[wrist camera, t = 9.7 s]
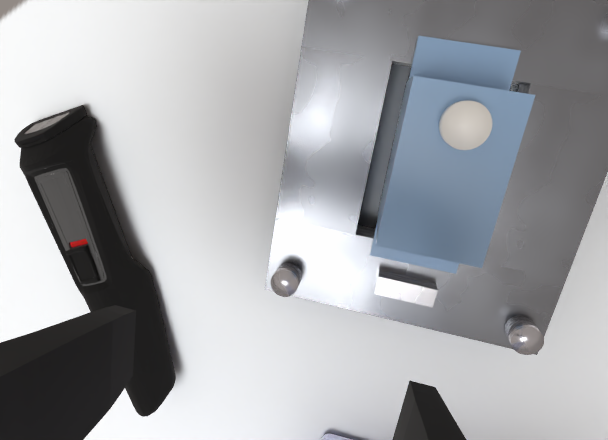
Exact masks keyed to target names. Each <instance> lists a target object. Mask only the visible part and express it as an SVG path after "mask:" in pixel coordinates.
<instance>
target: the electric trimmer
mask: <svg viewBox="0 0 608 440" xmlns="http://www.w3.org/2000/svg"><path fill="white" fill-rule="evenodd" d="M86 114H87V113H86V111H85V109H84V107H83V105H82V106H79V107H76V108H73V109H70V110H67V111H65V112H62V113H59V114H56V115H53V116H50V117H47V118H45V119H42V120H39V121H36V122H34V123H32V124H30V125H28V126H27V127H25V128H24V129H23V130H22V131H21V132H20V133H19V134H18V135H17V137H16V138H15V143H16V144H17V145H18V146H19V147H20V148H21V156H20V168H21V170H22V171H23V173H24V175H25V177H26V179H27V181H28V184H29V186H30V188H31V190H32V192H33V194H34V197H35V199H36V201H37V203H38V205H39V207H40V209H41V211H42V214H43V216H44V218H45V220H46V222H47V224H48V226H49V229H50V231H51V233H52V235H53V237H54V239H55V241H56V243H57V246H58V248H59V250H60V252H61V254H62V256H63V258H64V260H65V263H66V265H67V267H68V269H69V271H70V273H71V275H72V278H73V280H74V282H75V284H76V286H77V288H78V289H79V291H80V292H81V294H82V296H83V297H84V299H85V301H86V303H87V305H88V307H89V309H90V311H91V312H94V311H97V310H100V309H103V308H106V307H110V306H114V305H117V306H121V307H125V308H129V309H132V310H136V324H135V344H134V363H133V376H132V377H131V379H130V380H129V382H128V383H127V385H126V386H125V388H126V391H127V393H128V395H129V397H130V399H131V402H132V404H133V406H134V408H135V409H136V411H137V413H138V414H139V415H141V416H148V415H150V414H152V413H153V412H155V411H156V410H157V409H158V408H159V406H160V405H161V404H162V402H163V401H164V400H165V398H166V397H167V395H168V394H169V392H170V391H171V390H172V388H173V386H174V383H175V371H174V367H173V362H172V358H171V354H170V350H169V345H168V341H167V337H166V333H165V328H164V324H163V320H162V316H161V311H160V307H159V303H158V299H157V296H156V292H155V288H154V284H153V281H152V277H151V274H150V272H149V271H148V270H147V269H146V268H144V267H143V266H142V265H141V264H139V263H138V262H137V261H136V260H134V259H133V258H132V257H131V254H130V251H129V249H128V246H127V243H126V240H125V238H124V235H123V232H122V229H121V227H120V224H119V221H118V219H117V216H116V213H115V210H114V208H113V205H112V202H111V200H110V197H109V194H108V191H107V189H106V186H105V183H104V181H103V178H102V175H101V172H100V170H99V167H98V164H97V161H96V159H95V156H94V153H93V151H92V148H91V145H90V142H91V139H92V136H93V134H94V131H95V129H96V127H97V125H96V122H95V119H94V118H92V117H88V116H85V115H86ZM67 128H68V129H67ZM45 140H46V141H45Z"/></svg>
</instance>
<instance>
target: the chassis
mask: <svg viewBox="0 0 608 440" xmlns="http://www.w3.org/2000/svg"><path fill="white" fill-rule="evenodd" d="M418 36H425V37H432V38H438V39H445V40H452V41H459V42H466V43H472V44H479V45H486V46H493V47H500V48H507V49H513V50H520V51H521V52H520V56H519V59H518V63H517V66H516V69H515V73H514V76H513V80H512V83H513V84H519V86H518V89H517V92H520V93H526V94H532V95H535V98H534V102H533V105H532V108H531V111H530V114H529V118H528V121H527V124H526V127H525V131H524V134H523V137H522V140H521V144H520V147H519V150H518V153H517V156H516V160H515V163H514V166H513V169H512V173H511V176H510V179H509V182H508V185H507V189H506V192H505V195H504V198H503V202H502V205H501V208H500V211H499V215H498V218H497V221H496V224H495V227H494V231H493V234H492V237H491V240H490V244H489V247H488V250H487V253H486V257H485V260H484V263H483V266H482V268H479V267H474V266H470V265H465V264H460V263H459V265H458V269H457V272H456V274H454V273H450V272H445V271H440V270H436V269H431V268H426V267H422V266H417V265H413V264H408V263H403V262H399V261H394V260H389V259H385V258H380V257H376V256H371V255H370V251H371V247H372V242H373V238H374V233H375V228H370V227H366V226H361V225H358V220H359V216H360V211H361V206H362V202H363V197H364V192H365V188H366V183H367V178H368V174H369V169H370V164H371V160H372V155H373V150H374V146H375V141H376V136H377V132H378V127H379V122H380V118H381V113H382V108H383V103H384V99H385V94H386V89H387V85H388V80H389V75H390V71H391V66H392V64H396V65H402V66H409V67H411V66H412V61H413V57H414V52H415V48H416V43H417V39H418ZM607 172H608V0H309V2H308V9H307V15H306V22H305V28H304V35H303V42H302V48H301V55H300V61H299V68H298V74H297V81H296V88H295V94H294V101H293V107H292V114H291V121H290V127H289V134H288V140H287V147H286V153H285V160H284V167H283V173H282V180H281V186H280V193H279V200H278V206H277V213H276V219H275V226H274V233H273V239H272V246H271V252H270V259H269V265H268V272H267V279H266V285H265V290H269V291H274V292H275V293H276V294H278V295H280V296H283V297H288V296H294V297H299V298H303V299H307V300H311V301H315V302H319V303H324V304H328V305H332V306H336V307H340V308H344V309H349V310H353V311H357V312H361V313H365V314H369V315H374V316H378V317H382V318H386V319H390V320H394V321H399V322H403V323H407V324H411V325H415V326H419V327H424V328H428V329H432V330H436V331H440V332H444V333H449V334H453V335H457V336H461V337H465V338H469V339H474V340H478V341H482V342H486V343H490V344H494V345H499V346H503V347H507V348H511V349H514V350H515V351H517V352H518V353H520V354H524V355H530V354H536V355H537V354H538V351H539V350H540V349H541V348H542V346H543V344H544V335H545V333H546V330H547V328H548V325H549V322H550V320H551V317H552V315H553V312H554V309H555V307H556V304H557V302H558V299H559V296H560V294H561V291H562V289H563V286H564V283H565V281H566V278H567V276H568V273H569V270H570V268H571V265H572V263H573V260H574V257H575V255H576V252H577V250H578V247H579V245H580V242H581V239H582V237H583V234H584V232H585V229H586V226H587V224H588V221H589V219H590V216H591V213H592V211H593V208H594V206H595V203H596V200H597V198H598V195H599V193H600V190H601V187H602V185H603V182H604V180H605V177H606V174H607Z"/></svg>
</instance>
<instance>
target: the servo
mask: <svg viewBox="0 0 608 440" xmlns="http://www.w3.org/2000/svg"><path fill="white" fill-rule="evenodd" d="M520 52H521V51H520V50H513V49H507V48H500V47H493V46H486V45H479V44H472V43H466V42H459V41H452V40H445V39H438V38H432V37H425V36H418V39H417V43H416V48H415V52H414V57H413V61H412V66H411V70H410V75H409V79H408V81H407V82H406V87H405V91H404V96H403V100H402V105H401V109H400V114H399V119H398V123H397V128H396V132H395V137H394V141H393V146H392V150H391V155H390V159H389V164H388V168H387V173H386V177H385V182H384V187H383V191H382V196H381V200H380V205H379V210H378V219H377V224H376V228H375V233H374V238H373V242H372V247H371V251H370V255H371V256H376V257H380V258H385V259H389V260H394V261H399V262H403V263H408V264H413V265H417V266H422V267H426V268H431V269H436V270H440V271H445V272H450V273H454V274H456V272H457V269H458V265H459V263H460V264H465V265H470V266H474V267H479V268H482V266H483V263H484V260H485V257H486V253H487V250H488V247H489V244H490V240H491V237H492V234H493V231H494V227H495V224H496V221H497V218H498V215H499V211H500V208H501V205H502V202H503V198H504V195H505V192H506V189H507V185H508V182H509V179H510V176H511V173H512V169H513V166H514V163H515V160H516V156H517V153H518V150H519V147H520V144H521V140H522V137H523V134H524V131H525V127H526V124H527V121H528V118H529V114H530V111H531V108H532V105H533V102H534V98H535V95H532V94H526V93H520V92H513V91H509V90H510V87H511V83H512V80H513V76H514V73H515V69H516V66H517V63H518V59H519V56H520Z"/></svg>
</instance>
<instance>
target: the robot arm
mask: <svg viewBox="0 0 608 440" xmlns="http://www.w3.org/2000/svg"><path fill="white" fill-rule="evenodd" d="M135 324H136V310H132V309H129V308H125V307H121V306H117V305H114V306H110V307H106V308H103V309H100V310H97V311H94V312H91V313H88V314H85V315H82V316H79V317H76V318H73V319H70V320H68V321H65V322H62V323H59V324H56V325H53V326H50V327H48V328H45V329H42V330H39V331H36V332H33V333H30V334H27V335H24V336H21V337H17V338H14V339H11V340H8V341H5V342H1V343H0V440H83V439H84V438H85V437H86V436H87V435H88V434H89V432H90V431H91V430H92V429H93V428H94V427H95V426H96V424H97V423H98V422H99V421H100V420H101V419H102V418H103V416H104V415H105V414H106V413H107V412H108V411H109V409H110V408H111V407H112V405H113V404H114V402H115V401H116V400H117V398H118V397H119V395H120V394H121V393H122V391H123V389H124V388H125V386H126V385H127V383H128V382H129V380H130V379H131V377H132V376H133V363H134V344H135ZM321 440H352V439H348V438H345V437H341V436H338V435H334V434H325V435H324V436H323V437H322V439H321ZM393 440H466V438H465V437H464V435H463V433H462V432H461V430H460V428H459V427H458V425H457V423H456V422H455V420H454V418H453V417H452V415H451V413H450V412H449V410H448V408H447V406H446V405H445V403H444V401H443V399H442V398H441V396H440V394H439V393H438V391H437V389H436V388H435V387H432V386H428V385H424V384H421V383H417V382H413V381H409V385H408V388H407V392H406V395H405V399H404V402H403V406H402V409H401V413H400V416H399V420H398V423H397V427H396V430H395V434H394V437H393Z"/></svg>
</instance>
